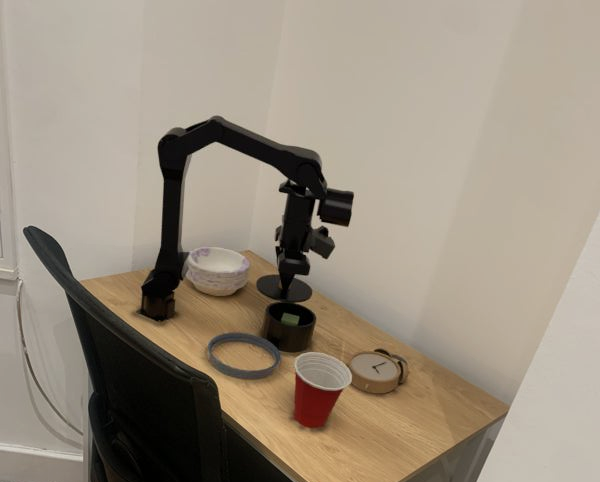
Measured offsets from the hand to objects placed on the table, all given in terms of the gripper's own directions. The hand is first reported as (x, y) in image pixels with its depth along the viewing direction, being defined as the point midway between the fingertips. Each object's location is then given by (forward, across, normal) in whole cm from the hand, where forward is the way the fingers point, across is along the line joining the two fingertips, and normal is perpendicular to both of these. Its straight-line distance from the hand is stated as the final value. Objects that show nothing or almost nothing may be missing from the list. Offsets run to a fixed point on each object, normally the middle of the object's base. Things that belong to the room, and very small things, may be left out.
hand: (284, 286), depth 137 cm
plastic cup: (+13, -29, -6) cm, 32 cm away
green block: (+12, -1, -2) cm, 13 cm away
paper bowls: (+13, +20, +14) cm, 28 cm away
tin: (+13, -1, -2) cm, 13 cm away
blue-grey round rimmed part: (+13, -11, +7) cm, 19 cm away
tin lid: (+1, 0, 0) cm, 1 cm away
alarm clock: (+13, -11, -22) cm, 28 cm away
